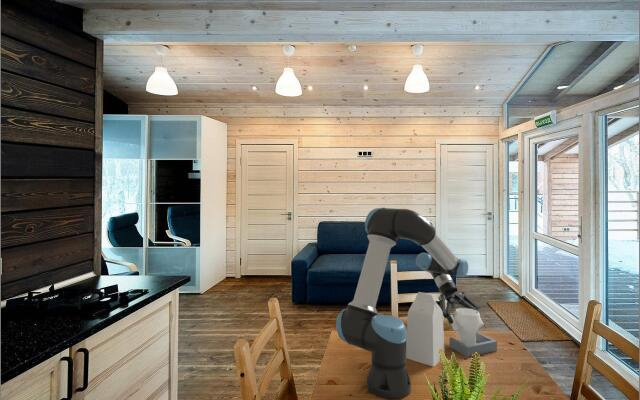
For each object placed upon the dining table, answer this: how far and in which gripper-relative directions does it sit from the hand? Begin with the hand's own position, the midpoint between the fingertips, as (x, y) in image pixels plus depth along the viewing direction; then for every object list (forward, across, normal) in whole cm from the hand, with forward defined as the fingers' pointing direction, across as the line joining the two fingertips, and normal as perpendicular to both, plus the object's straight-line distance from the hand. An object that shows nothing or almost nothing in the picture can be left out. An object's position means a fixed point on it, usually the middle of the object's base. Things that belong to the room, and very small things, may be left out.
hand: (469, 328), depth 157 cm
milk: (+6, +24, -6) cm, 25 cm away
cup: (+5, 0, -7) cm, 8 cm away
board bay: (+8, 0, -4) cm, 9 cm away
